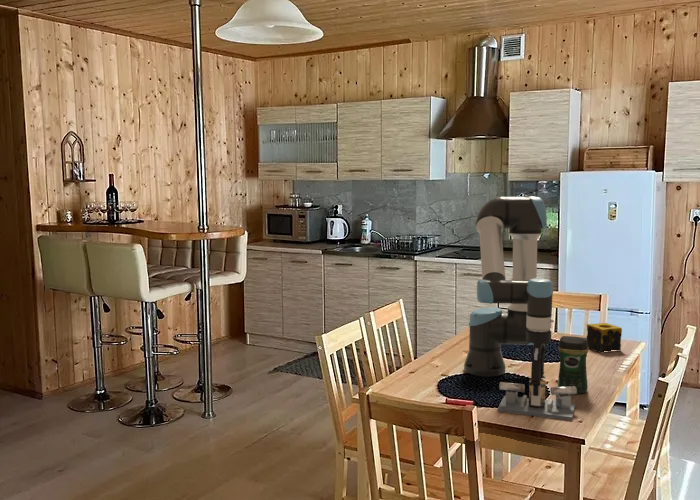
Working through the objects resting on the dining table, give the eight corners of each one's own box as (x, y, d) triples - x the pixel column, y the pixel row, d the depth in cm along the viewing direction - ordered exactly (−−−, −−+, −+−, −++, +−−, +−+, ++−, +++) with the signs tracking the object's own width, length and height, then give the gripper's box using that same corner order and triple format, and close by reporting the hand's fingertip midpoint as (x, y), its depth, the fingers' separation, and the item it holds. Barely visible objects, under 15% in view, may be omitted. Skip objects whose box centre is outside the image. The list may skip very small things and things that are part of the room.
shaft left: (498, 403, 217) (498, 383, 216) (500, 399, 220) (501, 380, 220) (522, 406, 214) (523, 386, 213) (524, 402, 218) (525, 382, 217)
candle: (585, 347, 289) (585, 324, 288) (605, 345, 292) (606, 322, 291) (600, 353, 279) (601, 329, 278) (621, 351, 282) (622, 327, 281)
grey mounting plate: (497, 411, 212) (497, 401, 212) (504, 398, 224) (504, 389, 224) (572, 420, 204) (572, 410, 204) (575, 406, 216) (575, 397, 216)
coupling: (535, 409, 211) (536, 384, 210) (525, 404, 216) (525, 379, 215) (548, 407, 213) (549, 382, 212) (538, 402, 218) (538, 377, 217)
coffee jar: (588, 388, 234) (590, 335, 232) (585, 395, 227) (587, 340, 224) (559, 385, 238) (560, 332, 236) (555, 391, 231) (557, 338, 229)
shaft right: (554, 409, 211) (555, 389, 210) (548, 405, 214) (549, 385, 214) (577, 408, 212) (578, 388, 211) (571, 404, 216) (572, 384, 215)
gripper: (548, 336, 202) (546, 413, 204) (554, 323, 218) (552, 394, 221) (522, 334, 204) (520, 409, 207) (530, 322, 221) (528, 391, 224)
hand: (536, 401), depth 214 cm, fingers open, 5 cm apart
